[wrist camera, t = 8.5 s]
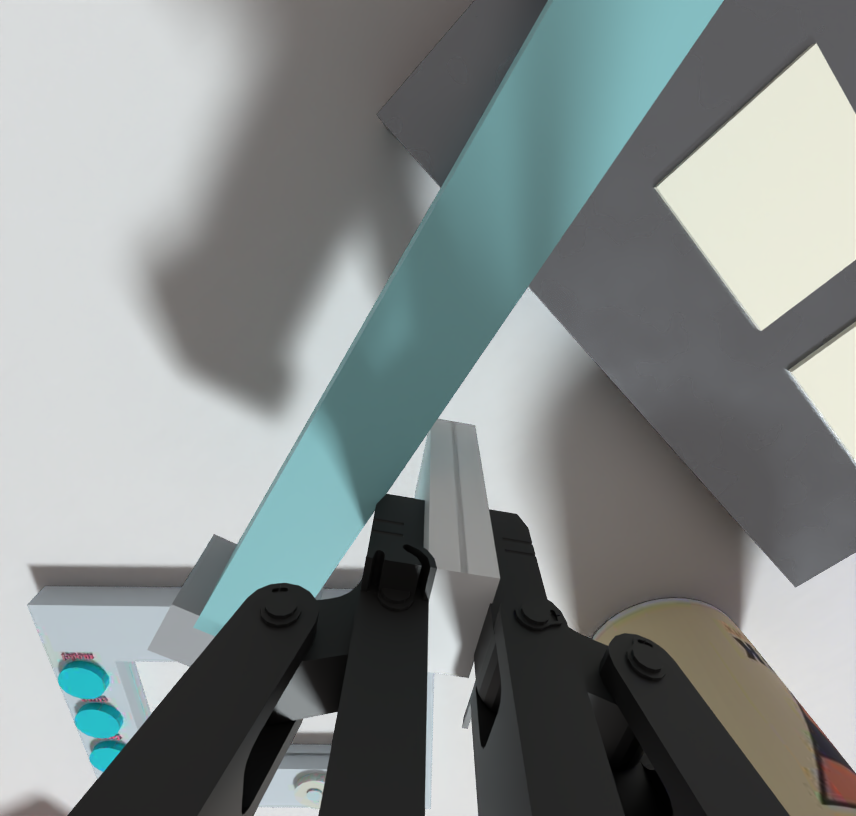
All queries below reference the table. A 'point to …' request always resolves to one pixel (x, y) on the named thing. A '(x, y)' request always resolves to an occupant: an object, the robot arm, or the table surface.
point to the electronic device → (121, 686)
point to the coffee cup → (747, 702)
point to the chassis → (679, 268)
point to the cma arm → (448, 293)
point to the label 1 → (774, 191)
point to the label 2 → (833, 385)
